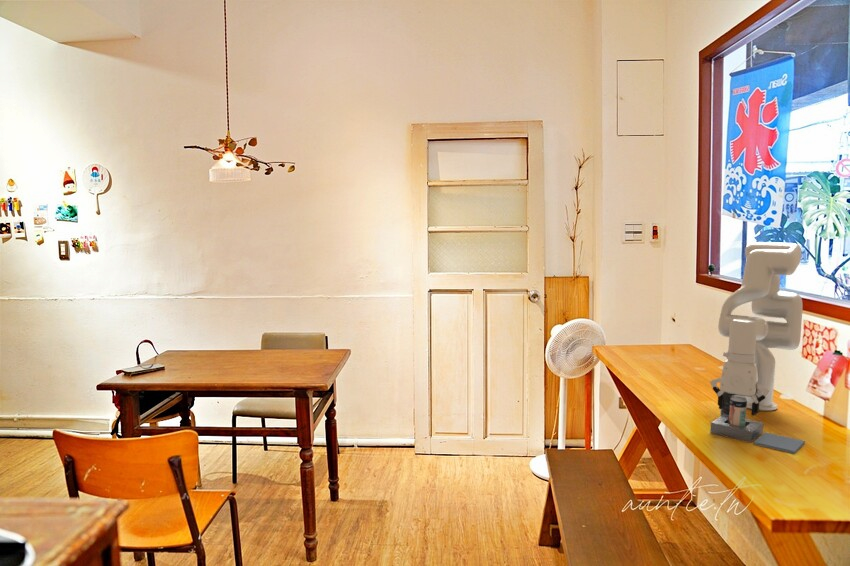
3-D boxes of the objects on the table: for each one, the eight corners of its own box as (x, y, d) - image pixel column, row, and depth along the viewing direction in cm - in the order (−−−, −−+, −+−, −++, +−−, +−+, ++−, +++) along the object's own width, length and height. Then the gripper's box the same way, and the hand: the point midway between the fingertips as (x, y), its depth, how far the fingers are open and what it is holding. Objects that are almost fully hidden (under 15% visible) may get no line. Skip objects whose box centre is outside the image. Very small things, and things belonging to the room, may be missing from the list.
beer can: (730, 429, 202) (732, 393, 201) (746, 432, 199) (748, 396, 198) (726, 433, 199) (728, 396, 197) (742, 436, 196) (745, 399, 194)
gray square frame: (723, 424, 207) (723, 414, 207) (762, 433, 199) (763, 422, 199) (710, 433, 199) (710, 422, 198) (751, 442, 191) (751, 431, 190)
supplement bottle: (730, 415, 218) (732, 381, 216) (746, 421, 211) (749, 386, 210) (715, 417, 215) (717, 383, 214) (731, 423, 209) (733, 388, 208)
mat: (765, 434, 198) (765, 432, 198) (804, 443, 190) (804, 440, 190) (753, 444, 189) (753, 441, 189) (794, 453, 182) (794, 451, 182)
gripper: (708, 355, 200) (705, 407, 201) (767, 364, 188) (764, 420, 189) (716, 352, 205) (713, 403, 206) (774, 361, 193) (771, 415, 195)
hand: (737, 411), depth 198 cm, fingers open, 9 cm apart
